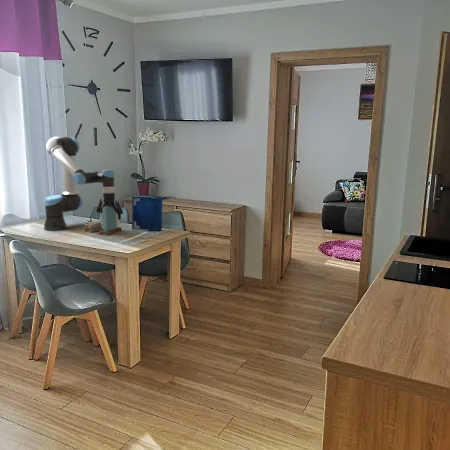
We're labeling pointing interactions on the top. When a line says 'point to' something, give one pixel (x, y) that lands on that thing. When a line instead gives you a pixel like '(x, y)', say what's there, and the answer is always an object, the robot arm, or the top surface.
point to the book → (147, 212)
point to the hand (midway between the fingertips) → (110, 223)
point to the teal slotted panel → (109, 219)
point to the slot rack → (110, 232)
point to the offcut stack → (93, 227)
